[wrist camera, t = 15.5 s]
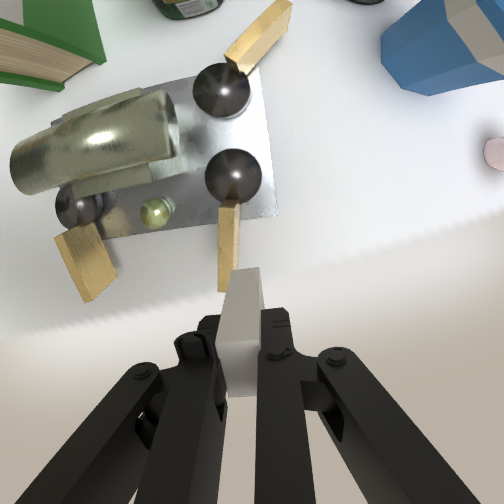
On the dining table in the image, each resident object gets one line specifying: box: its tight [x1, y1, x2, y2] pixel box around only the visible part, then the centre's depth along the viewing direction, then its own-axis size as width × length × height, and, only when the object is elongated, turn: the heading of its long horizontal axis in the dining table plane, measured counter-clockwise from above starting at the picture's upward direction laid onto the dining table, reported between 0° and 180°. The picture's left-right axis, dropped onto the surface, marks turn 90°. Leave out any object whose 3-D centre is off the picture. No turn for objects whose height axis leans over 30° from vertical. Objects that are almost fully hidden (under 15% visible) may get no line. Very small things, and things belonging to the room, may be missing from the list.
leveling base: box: [10, 66, 278, 240], centre depth 23 cm, size 24×15×15 cm, turn 97°
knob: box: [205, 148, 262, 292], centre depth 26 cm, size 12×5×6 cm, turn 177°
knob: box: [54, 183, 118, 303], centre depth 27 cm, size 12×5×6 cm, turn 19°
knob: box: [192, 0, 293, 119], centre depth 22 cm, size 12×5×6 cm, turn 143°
